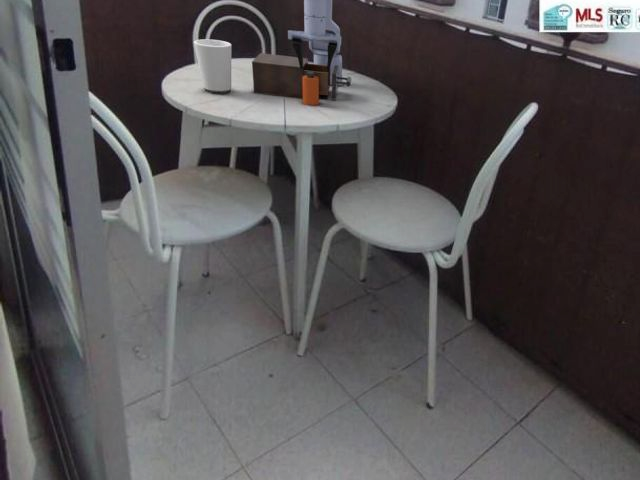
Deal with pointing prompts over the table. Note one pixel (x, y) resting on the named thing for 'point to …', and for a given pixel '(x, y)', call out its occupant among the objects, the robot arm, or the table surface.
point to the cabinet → (278, 75)
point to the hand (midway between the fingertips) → (315, 69)
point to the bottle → (310, 89)
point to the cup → (214, 64)
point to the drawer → (326, 78)
